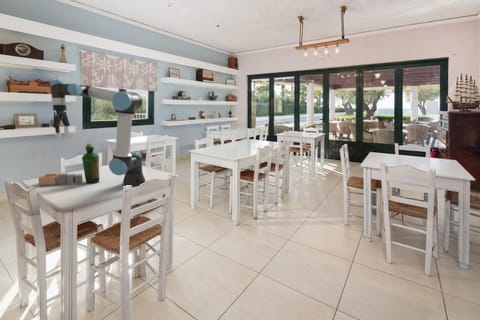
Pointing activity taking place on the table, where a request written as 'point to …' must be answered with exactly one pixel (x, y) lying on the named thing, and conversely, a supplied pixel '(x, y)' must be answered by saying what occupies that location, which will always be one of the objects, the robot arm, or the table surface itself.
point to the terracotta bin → (48, 179)
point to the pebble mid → (70, 178)
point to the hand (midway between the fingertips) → (63, 136)
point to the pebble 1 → (62, 178)
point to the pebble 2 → (78, 179)
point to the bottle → (91, 165)
